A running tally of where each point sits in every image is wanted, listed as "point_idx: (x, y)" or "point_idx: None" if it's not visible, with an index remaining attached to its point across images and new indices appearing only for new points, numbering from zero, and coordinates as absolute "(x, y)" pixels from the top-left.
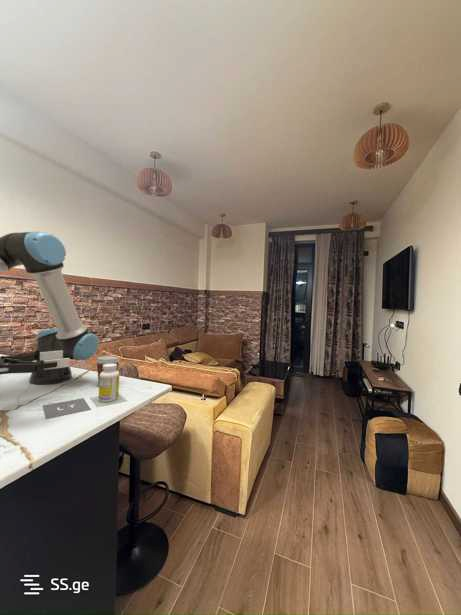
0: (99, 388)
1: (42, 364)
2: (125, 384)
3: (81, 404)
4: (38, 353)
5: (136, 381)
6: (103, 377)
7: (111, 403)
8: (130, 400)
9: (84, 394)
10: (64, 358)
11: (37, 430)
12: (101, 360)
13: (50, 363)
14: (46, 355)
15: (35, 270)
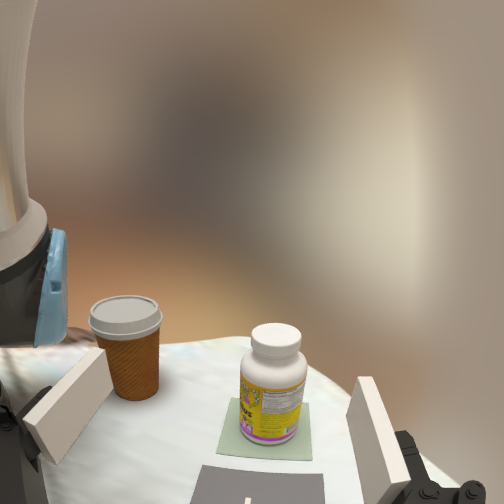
0: (272, 418)
1: (443, 489)
2: (177, 366)
3: (261, 484)
4: (20, 430)
5: (178, 348)
6: (295, 382)
7: (307, 430)
8: (309, 397)
9: (166, 450)
10: (367, 393)
11: None
12: (131, 325)
13: (420, 457)
14: (63, 420)
15: None
